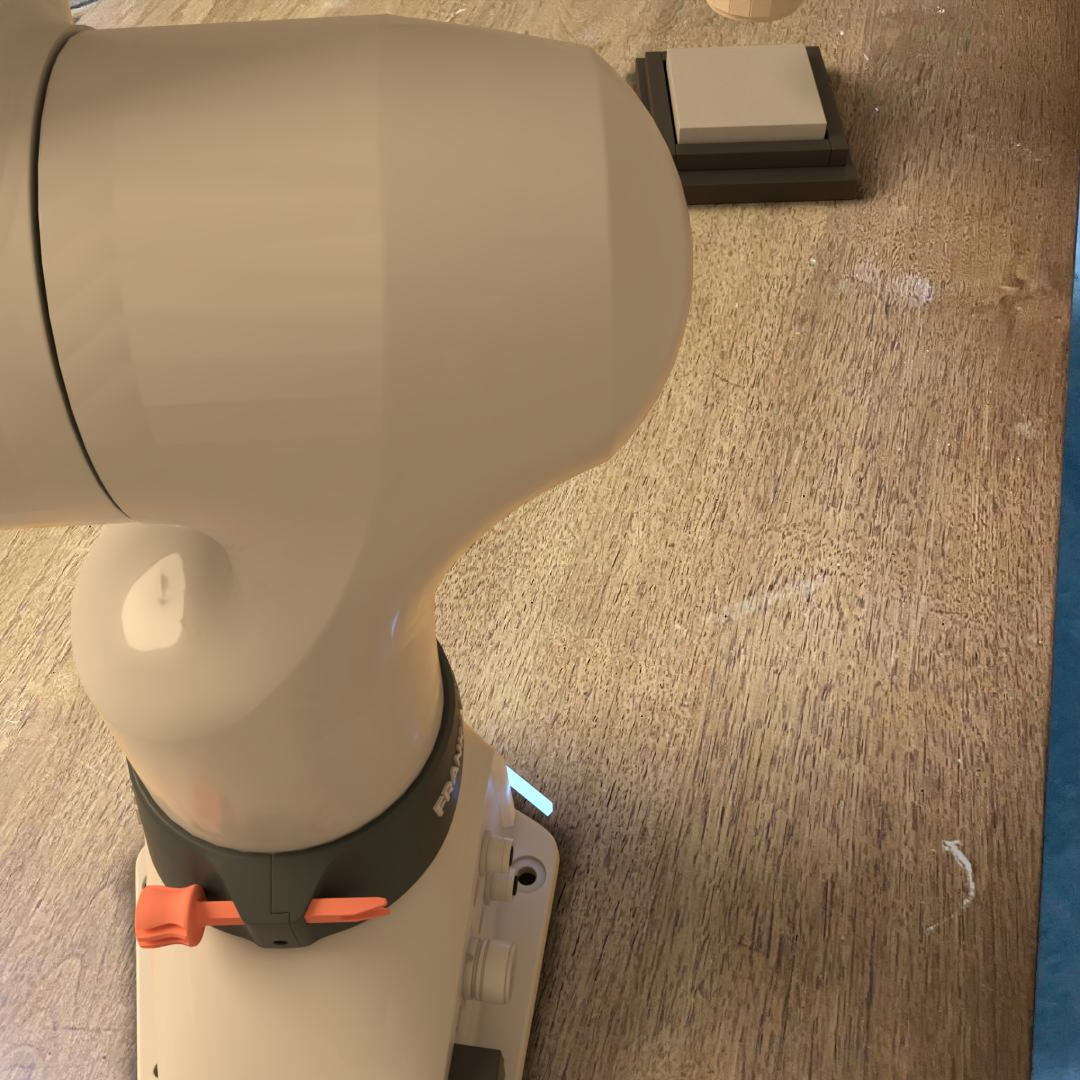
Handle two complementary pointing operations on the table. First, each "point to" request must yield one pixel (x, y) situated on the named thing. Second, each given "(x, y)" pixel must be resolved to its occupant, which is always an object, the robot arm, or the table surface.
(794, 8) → the bowl
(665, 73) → the scale
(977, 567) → the table surface
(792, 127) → the platform
